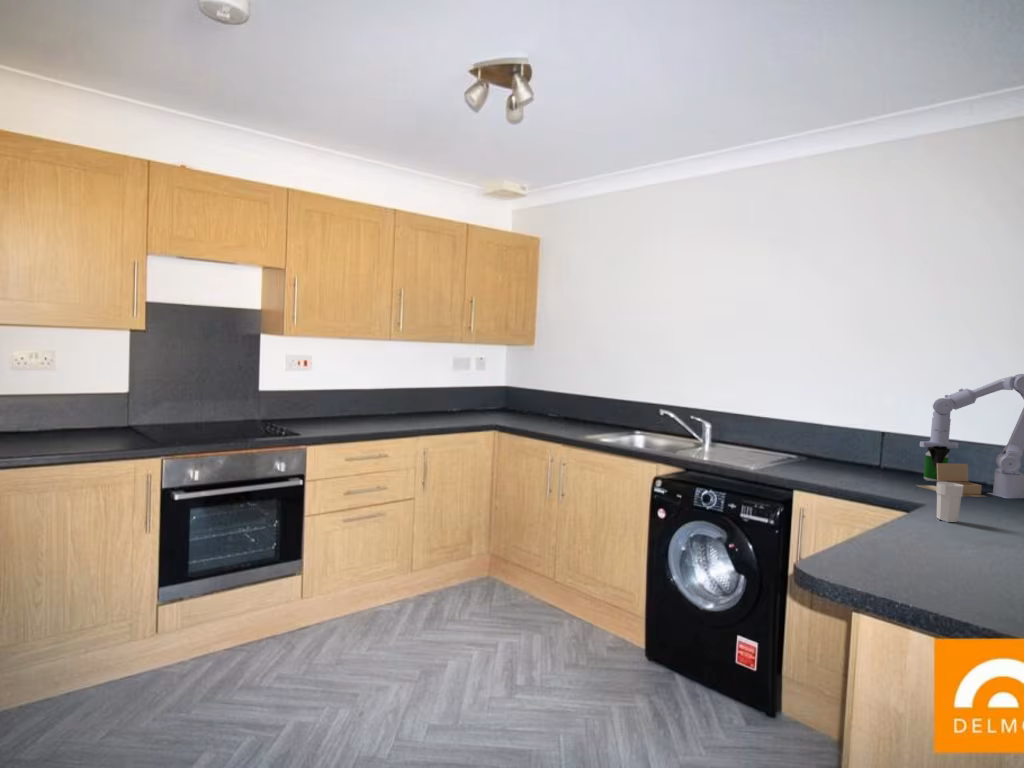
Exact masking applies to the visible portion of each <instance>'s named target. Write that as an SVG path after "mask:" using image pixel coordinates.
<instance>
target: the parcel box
mask: <svg viewBox="0 0 1024 768" xmlns="http://www.w3.org/2000/svg"><path fill="white" fill-rule="evenodd" d="M938 482H951V483H957V484H961V485H963V486H964V487H963V494H962V495H982V487H983V486H982V485H981V484H977V483H973V482H970V481H938Z"/></svg>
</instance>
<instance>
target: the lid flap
mask: <svg viewBox="0 0 1024 768" xmlns="http://www.w3.org/2000/svg"><path fill="white" fill-rule="evenodd" d="M937 481H949V482H969V465H968V463H949V462H948V463H937Z"/></svg>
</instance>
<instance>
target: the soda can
mask: <svg viewBox="0 0 1024 768" xmlns="http://www.w3.org/2000/svg"><path fill="white" fill-rule="evenodd" d="M943 463H948V464H949V455H948V454H947V455H946V457H945V458H944V460H943ZM923 469H924V470H923V480H925V481H926V480H927V481H931V483H932V482H934V483H937V482H938V481H937V467H935V466H933V461H932V457H931V454H930V452H929V450H928V451H927V452H925V459H924V468H923ZM927 481H926V482H927Z"/></svg>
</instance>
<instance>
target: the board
mask: <svg viewBox="0 0 1024 768" xmlns="http://www.w3.org/2000/svg"><path fill="white" fill-rule="evenodd" d="M915 486H916V487H919V488H923V489H926V490H930V491H934V492H937V485H920V484H919V485H918V484H916V485H915ZM962 497H980V498H983V497H985V498H986V497H987V498H988V497H989V496H987V495H983V494H981V495H962Z"/></svg>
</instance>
